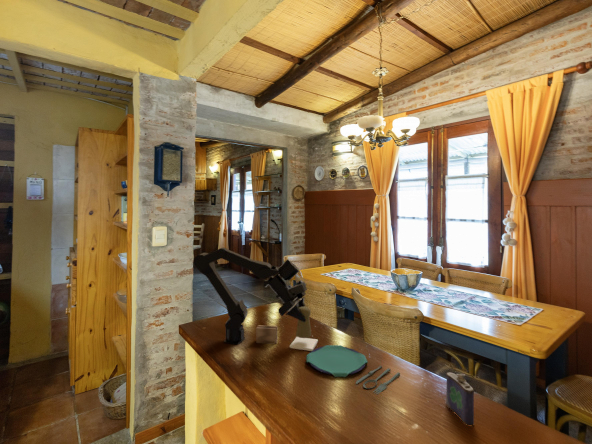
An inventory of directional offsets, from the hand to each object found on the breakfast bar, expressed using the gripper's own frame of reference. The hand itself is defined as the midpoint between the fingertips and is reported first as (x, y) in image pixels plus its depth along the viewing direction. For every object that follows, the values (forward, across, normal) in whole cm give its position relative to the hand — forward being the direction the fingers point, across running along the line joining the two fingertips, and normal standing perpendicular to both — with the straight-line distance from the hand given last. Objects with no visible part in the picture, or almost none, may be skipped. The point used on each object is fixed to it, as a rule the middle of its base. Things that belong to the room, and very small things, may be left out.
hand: (307, 318), depth 121 cm
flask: (+42, -28, -27) cm, 57 cm away
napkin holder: (-4, -2, +19) cm, 19 cm away
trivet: (+7, 0, +8) cm, 10 cm away
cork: (+4, 0, +6) cm, 7 cm away
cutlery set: (+21, -13, -5) cm, 25 cm away
